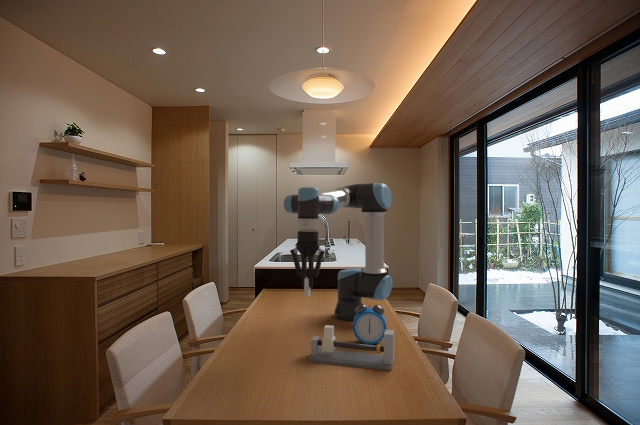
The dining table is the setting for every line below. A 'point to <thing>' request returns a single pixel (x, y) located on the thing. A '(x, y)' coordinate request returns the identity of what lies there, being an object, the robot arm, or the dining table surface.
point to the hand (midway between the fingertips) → (307, 296)
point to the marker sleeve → (328, 339)
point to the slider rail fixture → (356, 354)
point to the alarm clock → (369, 324)
